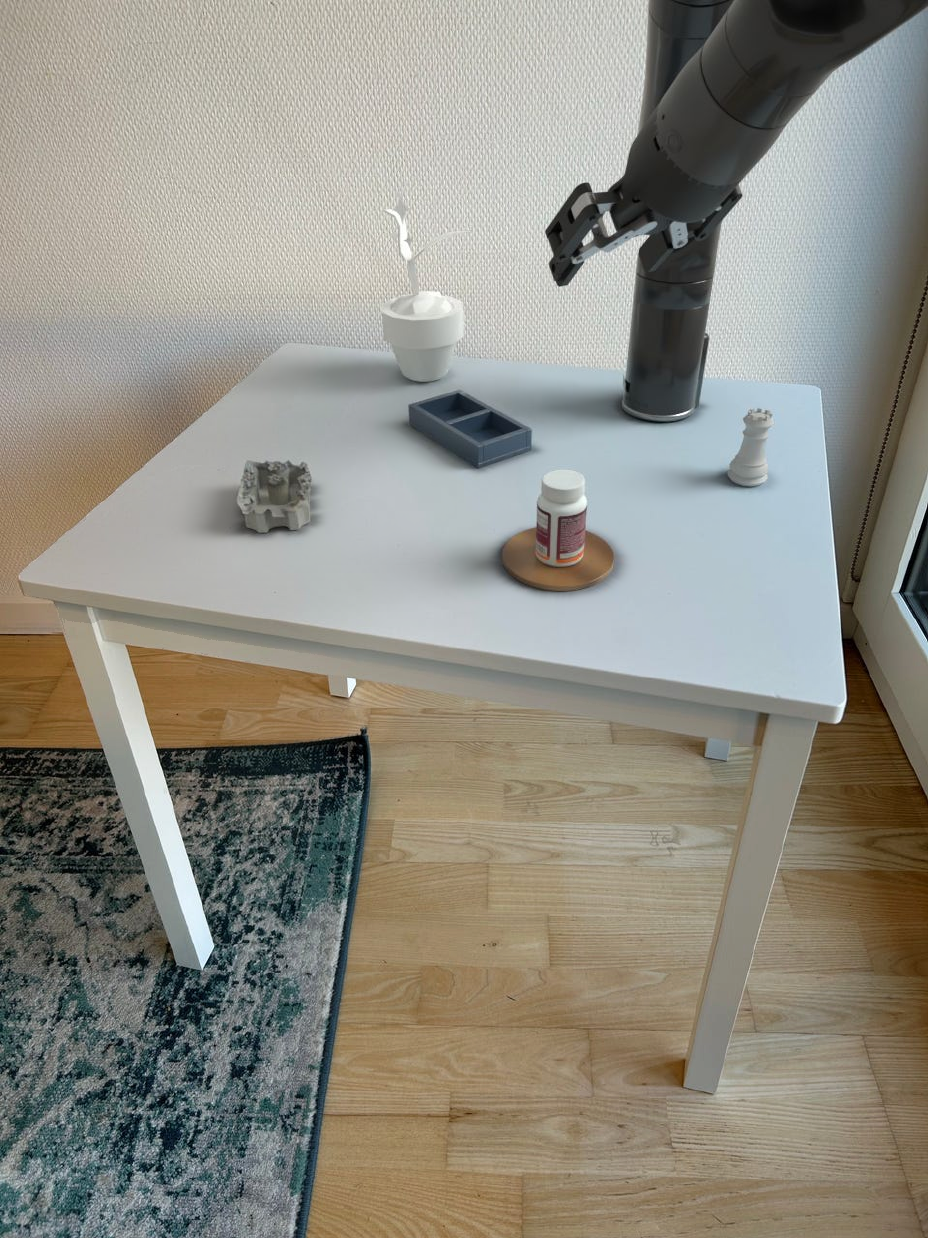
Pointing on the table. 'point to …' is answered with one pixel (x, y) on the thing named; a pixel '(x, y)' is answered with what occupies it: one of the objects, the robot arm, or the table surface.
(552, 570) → the disc
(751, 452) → the rook chess piece
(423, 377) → the potted plant
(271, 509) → the egg carton
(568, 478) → the pill bottle
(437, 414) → the holder
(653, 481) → the table surface
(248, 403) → the table surface
